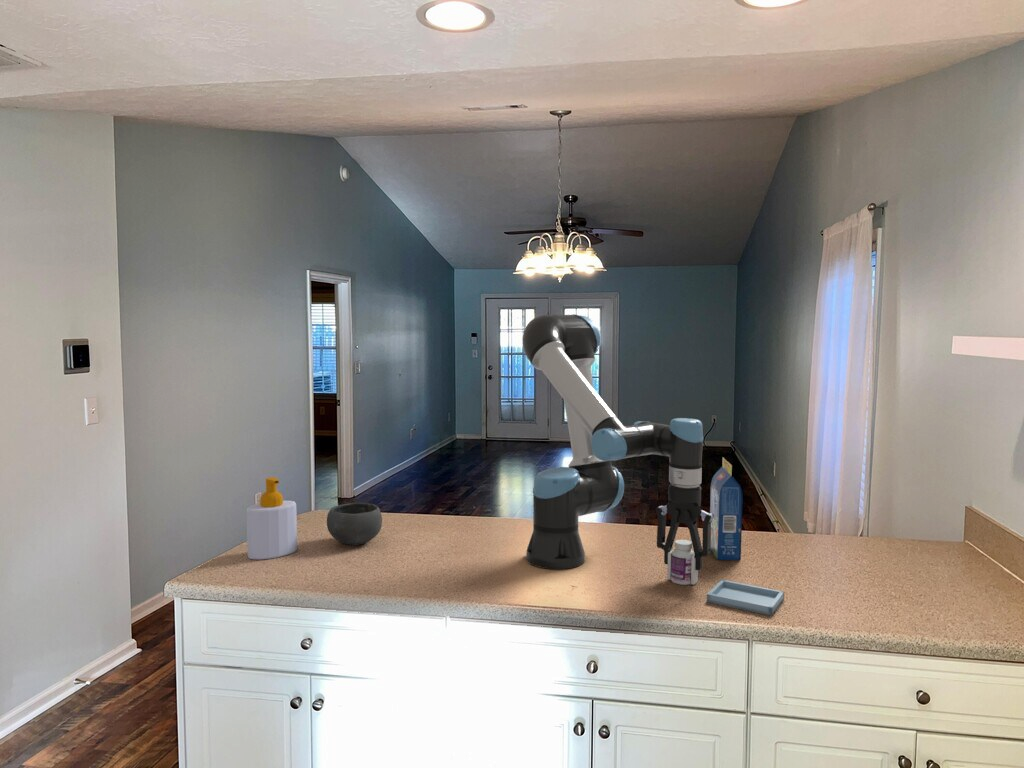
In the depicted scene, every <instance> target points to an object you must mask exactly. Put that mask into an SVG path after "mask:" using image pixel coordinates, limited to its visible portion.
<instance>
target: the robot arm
mask: <svg viewBox="0 0 1024 768" xmlns="http://www.w3.org/2000/svg"><path fill="white" fill-rule="evenodd" d="M601 341H602V339H601V333H600V330H599V327H598V326H597V324H596V323H595V321H594V320H592V319H591V318H589V317H588V316H585V315H579V314H541V315H538V316H535V317H534V318H533V319H531V320H530V321H529V322H528V324H527V325H526V326H525V328H524V331H523V334H522V348H523V351H524V354H525V357H526V358H527V359H528V361H529V362H530V364H531V365H532V367H534V369H536V370H538V371H541V372H542V373H543V374H544V376H545V377H546V378H547V379H548V381H549V382H550V384H551V385H552V386H553V387H554V389H555V390H556V391H557V393H559V395H560V397H561V398H562V399H563V402H564V407H565V414H566V415H565V416H566V420H567V421H566V422H567V428H568V434H569V441H570V446H571V452H572V453H571V454H572V460H571V461H570V462H569V464H568V467H567V466H560V467H559V466H558V467H550V468H546V469H544V470H541V471H540V472H538V473H537V474H536V475H535V476H534V479H533V488H532V494H533V495H532V496H533V498H532V499H533V509H532V510H533V518H532V519H533V521H532V522H533V527H532V533H531V537H530V539H529V542H528V545H527V549H526V553H525V554H526V558H525V559H526V562H527V563H528V564H530V565H532V566H535V567H538V568H542V569H550V570H564V569H565V570H567V569H572V568H576V567H579V566H581V565H583V564H584V563H585V561H586V555H585V554H586V552H585V549H584V545H583V542H582V539H581V535H580V532H579V517H581V516H585V515H591V514H595V513H601V512H602V513H603V512H606V511H608V510H610V509H613V508H615V507H616V506H617V505H619V504H620V502H621V500H622V498H623V496H624V492H625V481H624V477H623V475H622V473H621V472H619V470H618V468H617V467H615V466H613V465H612V461H613V462H616V461H619V460H623V459H628V458H634V457H635V458H636V457H641V456H649V455H656V456H657V455H658V456H664V457H668V458H669V459H668V461H669V463H668V464H669V466H668V473H669V474H668V482H669V483H670V484H669V485H668V497H667V499H668V502H667V504H666V505H659V506H658V507H656V508H655V512H656V516H657V528H656V529H657V530H656V531H657V533H656V547H657V548H658V549H662V550H663V553H664V554H663V563H664V565H667V573H666V574H667V576H666V579H667V580H669V581H672V580H671V561H672V551H673V550H674V549H673V548H674V546H673V545H674V544H675V541H676V539H675V538H676V535H677V532H678V529H679V525H681V524H683V525H687V529H688V531H689V536H690V541H691V542H692V548H693V550H692V551H693V552H694V554H695V555H694V556H692V560H691V584H690V585H695V584H696V583H698V582H699V572H700V571H701V570H702V568H703V557H707V556H708V555H709V554H711V553H712V552H711V551H712V550H711V522H712V519H713V517H714V515H713V513H710V512H707V511H705V510H703V509H704V508H703V507H702V486H701V484H702V479H703V478H702V475H703V474H702V473H703V470H702V469H703V468H702V467H703V463H702V460H703V447H704V445H703V444H704V433H703V429H704V428H703V423H702V421H701V420H700V419H695V418H687V417H684V418H683V417H677V418H673V419H671V420H670V423H669V424H663V423H657V422H651V421H634V423H633V424H632V425H624V424H623V423H622V422H621V420H620V419H619V418H618V416H617V415H616V413H614V412H613V411H612V409H611V408H610V407H609V406H608V404H607V403H606V402H605V401H604V399H603V398H602V397H601V395H600V394H599V393H598V392H597V390H596V389H595V387H594V385H595V384H594V380H593V374H592V365H593V364H594V363H595V361H596V357H595V355H596V354H597V353H598V351H599V349H600V348H599V346H601ZM668 513H669V515H670V517H671V520H670V523H669V525H670V527H669V529H668V533H667V537H666V530H667V529H666V528H667V514H668ZM700 516H701V520H702V541H701V537H700V533H699V532H700V531H699V529H698V519H699V517H700Z"/></svg>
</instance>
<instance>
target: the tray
mask: <svg viewBox="0 0 1024 768" xmlns="http://www.w3.org/2000/svg"><path fill="white" fill-rule="evenodd" d="M784 600H785V591H783V590H776V589H773V588H767V587H763V586H758V585H752V584H748V583H741V582H736V581H731V580H727V579H721V580H720V581H718V583H717V584H716V585H715V586H714V587H713V588H711V589H710V590H709V591H708V593H706V603H711V604H714V605H719V606H724V607H729V608H731V609H738V610H742V611H747V612H752V613H757V614H760V615H766V616H770V617H773V615H774V614H775V612H776V611H777V610H778V608H779V607H780V606H781V604H782V603H783V601H784Z"/></svg>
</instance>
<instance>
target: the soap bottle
mask: <svg viewBox="0 0 1024 768" xmlns="http://www.w3.org/2000/svg"><path fill="white" fill-rule="evenodd" d="M278 484H280V481H279V479H278V478H277V477H274V476H273V477H267V478H265V488H266V489H265V491H264V492H263V493H262V494H261V496H260V499H259V502H260V503H256V504H253V505H250V506H249V507H247V508H246V538H247V539H246V541H247V542H246V543H247V557H248V559H251V560H258V561H259V560H269V559H270V560H271V559H276V558H281V557H285V556H287V555H288V556H289V555H290V554H293V553H296V551H297V550H298V530H297V529H298V525H297V524H298V523H297V522H298V521H297V520H298V519H297V516H298V515H297V514H298V513H297V503H296V501H295V500H284V497H283V495H282V493H281V492H279V491H278V489H277V487H278V486H277V485H278Z"/></svg>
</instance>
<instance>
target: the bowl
mask: <svg viewBox="0 0 1024 768" xmlns="http://www.w3.org/2000/svg"><path fill="white" fill-rule="evenodd" d="M382 526H383V516H382V511H381V509H380V507H379V506H377V505H375V504H373V503H370V502H369V503H368V502H349V503H343V504H339V505H334V506H332V507H331V508H330V509H329V511H328V513H327V517H326V527H327V531H328V533H329V535H331V536H332V538H333V539H334V540H336V541H337V542H339V543H341V544H344V545H345V544H346V545H350V546H351V545H353V546H354V545H355V546H357V545H362V544H366V543H368V542H370V541H371V540H372V539H374V538H375V537H376V536H377V535H379V534H380V532H381V530H382Z"/></svg>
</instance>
